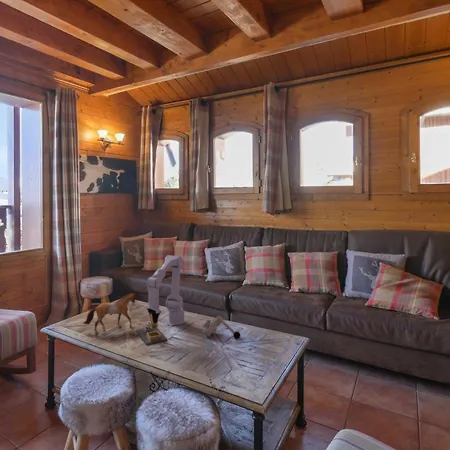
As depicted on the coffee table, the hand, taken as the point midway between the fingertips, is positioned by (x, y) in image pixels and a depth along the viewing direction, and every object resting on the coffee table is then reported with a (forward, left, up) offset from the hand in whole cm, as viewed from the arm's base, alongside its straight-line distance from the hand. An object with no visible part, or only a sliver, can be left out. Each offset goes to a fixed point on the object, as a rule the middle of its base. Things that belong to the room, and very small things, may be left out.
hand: (153, 321), depth 183 cm
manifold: (0, -5, -10) cm, 11 cm away
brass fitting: (0, 0, -3) cm, 3 cm away
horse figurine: (+18, -28, -10) cm, 35 cm away
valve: (-36, +16, -11) cm, 40 cm away
